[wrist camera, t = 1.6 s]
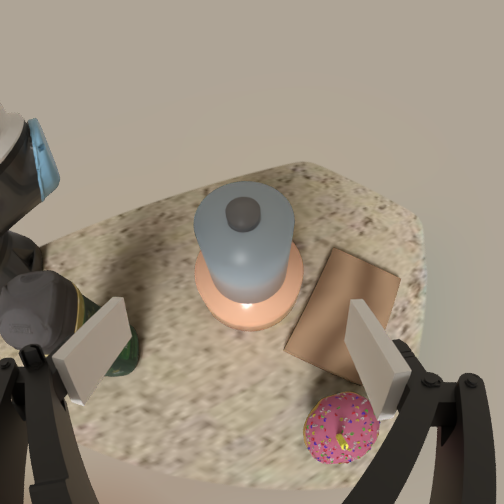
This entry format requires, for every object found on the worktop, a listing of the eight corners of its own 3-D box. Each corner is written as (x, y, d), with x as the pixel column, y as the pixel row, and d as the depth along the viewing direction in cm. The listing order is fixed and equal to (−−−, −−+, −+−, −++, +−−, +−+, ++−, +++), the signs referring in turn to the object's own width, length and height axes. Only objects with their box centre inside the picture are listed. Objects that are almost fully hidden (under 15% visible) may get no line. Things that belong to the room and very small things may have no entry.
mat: (283, 350, 34) (284, 349, 33) (332, 250, 41) (333, 247, 40) (360, 385, 31) (362, 385, 30) (398, 281, 38) (401, 278, 37)
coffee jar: (141, 320, 36) (63, 256, 20) (142, 377, 33) (51, 349, 16) (84, 323, 36) (-2, 266, 20) (82, 375, 32) (-15, 343, 16)
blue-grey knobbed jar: (196, 281, 34) (170, 229, 24) (235, 225, 37) (226, 161, 27) (264, 317, 31) (265, 275, 21) (298, 253, 35) (311, 193, 25)
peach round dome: (184, 301, 38) (174, 287, 33) (233, 229, 43) (229, 208, 39) (270, 349, 34) (272, 341, 30) (313, 265, 40) (319, 247, 35)
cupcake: (318, 468, 26) (343, 497, 16) (285, 415, 30) (297, 424, 20) (376, 431, 28) (423, 439, 17) (345, 380, 32) (382, 369, 21)
